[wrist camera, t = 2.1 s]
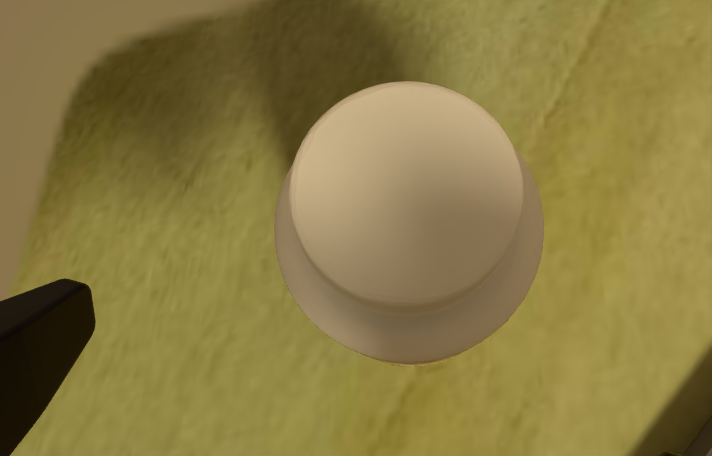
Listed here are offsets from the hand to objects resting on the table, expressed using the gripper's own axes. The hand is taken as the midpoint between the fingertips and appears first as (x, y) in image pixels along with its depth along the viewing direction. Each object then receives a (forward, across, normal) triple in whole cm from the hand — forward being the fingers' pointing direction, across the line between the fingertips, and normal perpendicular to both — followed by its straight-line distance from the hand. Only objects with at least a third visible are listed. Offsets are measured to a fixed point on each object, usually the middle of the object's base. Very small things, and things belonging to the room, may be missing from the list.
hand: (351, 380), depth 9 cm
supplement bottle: (+10, 0, +5) cm, 11 cm away
